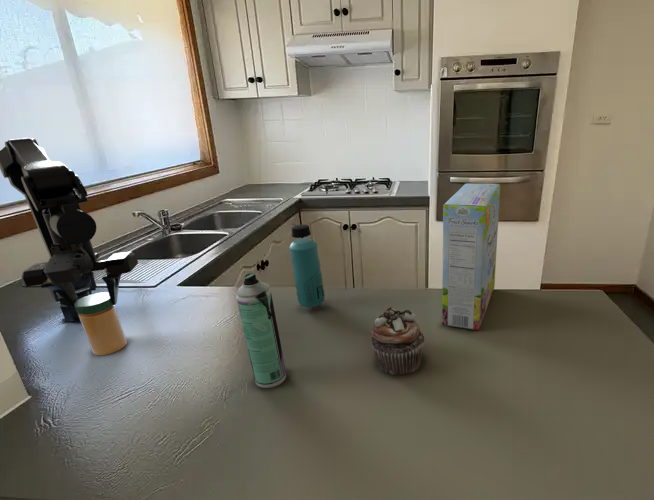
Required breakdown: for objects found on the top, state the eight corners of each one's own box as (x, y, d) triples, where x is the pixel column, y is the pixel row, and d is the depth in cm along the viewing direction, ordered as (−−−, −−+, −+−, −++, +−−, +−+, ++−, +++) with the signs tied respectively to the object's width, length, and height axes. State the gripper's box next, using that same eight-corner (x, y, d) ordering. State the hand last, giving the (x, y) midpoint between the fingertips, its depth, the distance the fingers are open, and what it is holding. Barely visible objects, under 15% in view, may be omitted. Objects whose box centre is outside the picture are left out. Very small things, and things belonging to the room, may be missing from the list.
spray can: (292, 371, 77) (273, 269, 69) (276, 390, 72) (254, 282, 64) (266, 367, 78) (245, 267, 71) (249, 385, 74) (224, 280, 66)
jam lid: (89, 317, 82) (86, 309, 81) (69, 311, 85) (66, 303, 84) (122, 302, 88) (120, 295, 87) (102, 297, 91) (100, 290, 90)
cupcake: (364, 373, 74) (359, 323, 70) (382, 345, 83) (379, 299, 79) (417, 382, 71) (415, 330, 67) (430, 351, 79) (429, 303, 75)
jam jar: (107, 338, 94) (91, 296, 89) (133, 339, 93) (118, 296, 88) (85, 355, 88) (67, 310, 84) (113, 355, 87) (96, 310, 83)
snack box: (483, 332, 84) (487, 205, 74) (440, 327, 87) (438, 204, 77) (497, 288, 102) (501, 181, 92) (461, 285, 106) (462, 181, 96)
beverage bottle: (321, 313, 97) (309, 229, 89) (294, 312, 99) (280, 230, 91) (329, 301, 103) (319, 221, 95) (304, 300, 104) (291, 222, 97)
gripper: (-12, 254, 71) (24, 334, 77) (107, 239, 75) (133, 317, 81) (23, 236, 82) (53, 307, 88) (127, 223, 85) (149, 293, 91)
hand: (96, 306), depth 86 cm, fingers closed on jam lid, 7 cm apart
